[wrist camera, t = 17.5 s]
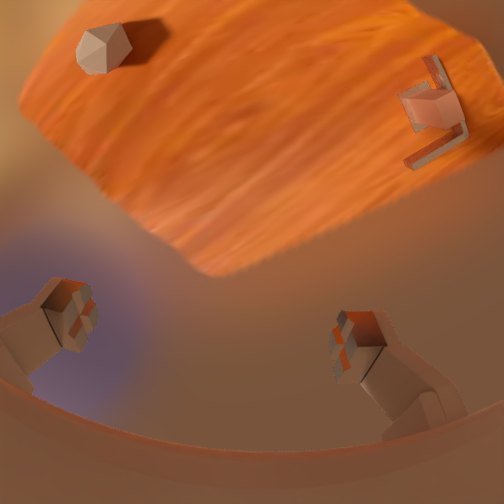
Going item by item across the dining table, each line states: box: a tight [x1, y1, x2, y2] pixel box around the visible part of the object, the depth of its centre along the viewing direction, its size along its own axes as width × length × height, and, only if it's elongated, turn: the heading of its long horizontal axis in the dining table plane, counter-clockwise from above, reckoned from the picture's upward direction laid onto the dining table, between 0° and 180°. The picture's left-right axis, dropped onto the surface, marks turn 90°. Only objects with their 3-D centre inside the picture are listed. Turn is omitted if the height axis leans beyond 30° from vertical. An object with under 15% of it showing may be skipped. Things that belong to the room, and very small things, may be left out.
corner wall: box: [397, 54, 470, 171], centre depth 31 cm, size 14×15×3 cm
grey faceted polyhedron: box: [76, 22, 133, 75], centre depth 26 cm, size 8×9×10 cm
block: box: [407, 89, 465, 130], centre depth 29 cm, size 4×4×8 cm
